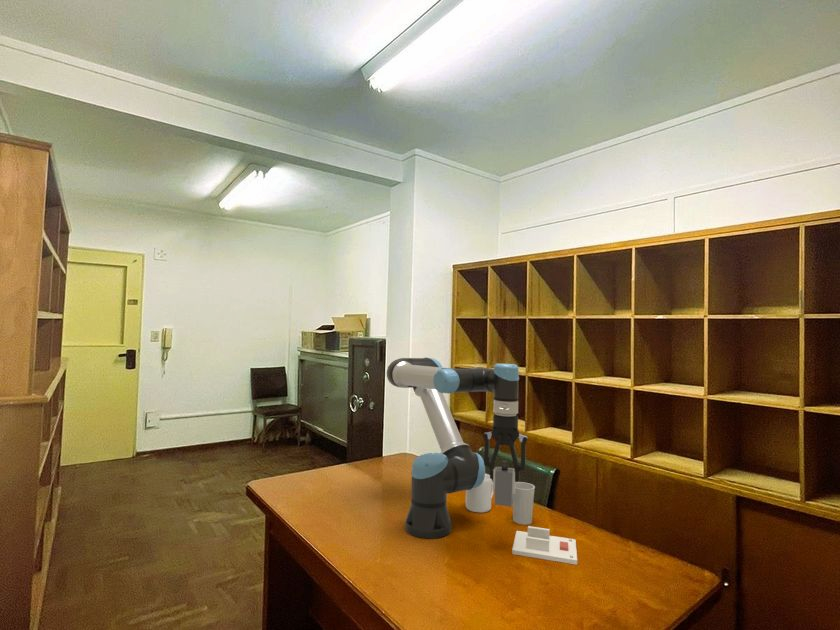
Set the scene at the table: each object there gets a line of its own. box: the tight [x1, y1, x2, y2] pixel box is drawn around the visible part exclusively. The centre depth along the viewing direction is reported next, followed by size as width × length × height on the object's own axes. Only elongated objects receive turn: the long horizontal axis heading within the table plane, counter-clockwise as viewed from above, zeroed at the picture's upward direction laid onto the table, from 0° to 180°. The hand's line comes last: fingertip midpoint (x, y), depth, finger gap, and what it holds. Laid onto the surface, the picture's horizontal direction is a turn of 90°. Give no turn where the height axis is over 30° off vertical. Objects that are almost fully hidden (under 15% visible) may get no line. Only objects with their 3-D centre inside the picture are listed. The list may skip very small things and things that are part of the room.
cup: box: [512, 481, 536, 525], centre depth 156 cm, size 8×8×12 cm
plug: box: [494, 460, 515, 508], centre depth 137 cm, size 5×5×12 cm
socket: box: [511, 525, 578, 566], centre depth 135 cm, size 18×14×4 cm
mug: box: [465, 473, 495, 514], centre depth 167 cm, size 10×12×12 cm
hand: (504, 490), depth 137 cm, fingers closed on plug, 5 cm apart
